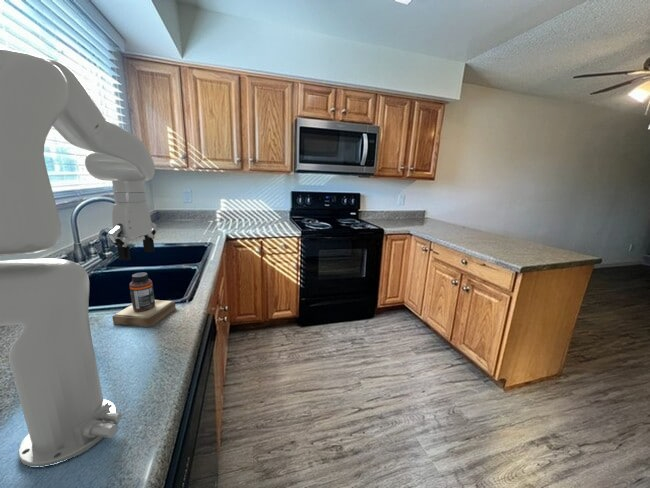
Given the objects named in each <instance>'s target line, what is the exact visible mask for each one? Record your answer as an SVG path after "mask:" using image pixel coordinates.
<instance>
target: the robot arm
mask: <svg viewBox="0 0 650 488" xmlns="http://www.w3.org/2000/svg"><path fill="white" fill-rule="evenodd" d="M52 127H53V129H55V130H56V131H57V133H58V134H60V135H61V137H62V138H64V140H66V141H67V143H69V144H71V145H72V146H75V147H77V148H80V149H81V150H82V149H83V150H86V151H89V153H88V154H87V155H86V156H85V159H84V164H85V168H86V170H87V172H88V174H89V175H91V176H92V177H93V178H95V179H98V180H102V181H108V182H109V181H110V182H111V183H112V189H113V197H114V204H112V209H111V210H112V213H111V218H112V219H111V223H112V229H111V230H110V231H109V232H108V233H107V237H109V239H110V241H111V243H112V244H113V245H114V246H115V248H117V253H118V260H119V261H131V260H132V258H131V249H130V246H128V245H129V242H130V240H133V239H138V238H141V237H143V239H142V244H143V245H142V247H143V251H144V252H145V253H154V252H155V251H156V250H155V244H154V239H155V235H156V233H157V230H156V229H157V224H156V223H154V222H152V219H151V218H152V217H151V213H150V209H149V205H148V203H147V195H146V187H145V182H147V181H150V180H152V179H153V178H154V175H155V172H156V170H155V169H156V167H155V163H154V160H153V158H152V155H151V153H150V152H149V150H148V148H147V146H146V144H145V143H144V142H143V141H142V140H141V139H140V138H139V137H138V136H136V135H134V134H133V133H131V132H130V131H128V130H126V129H124V128H123V127H121V126H119V125H117V124H115V123H113V122H111V121H109V120H107V119H106V118H105V116H104V114H103V113H102V112H101V109H100V108H99V107H98V106H97V104H96V103H95V101H94V100H93V98H92V97H91V95H90V94H89V92H88V91H87V89H86V87H85V86H84V85H83V84H82V82H81V80H80V79H79V77H78V76H77V74H75V73H74V72H73V70H72V69H70V67H68V66H67V65H66V64H64V63H62V62H60V61H58V60H55V59H54V58H53V59H52V58H49V57H45V56H38V55H34V54H31V53H28V52H23V51H18V50H12V49H6V48H0V256H13V255H14V256H16V255H29V254H36V253H37V254H38V253H40V252H45V251H48V250H50V249H52V248H54V247H55V246H57V244H58V243H59V242H60V240H61V235H62V224H61V219H60V216H59V215H60V214H59V210H58V207H57V204H56V199H55V196H54V192H53V189H52V184H51V181H50V178H49V177H50V176H49V173H48V169H47V165H46V160H45V159H46V158H45V143H46V141H47V137H48V136H49V133H50V131H51V128H52ZM89 300H90V279H89V273H88V271H86V269H85V268H84V267H83V266H82V265H80V263H77V262H75V261H73V260H68V259H63V258H54V257H53V258H50V257H49V258H47V257H46V258H24V259H22V258H21V259H8V260H7V259H6V260H0V326H12V325H13V326H14V325H15V326H17V325H18V326H22V331H21V333H20V334H19V336H17V338H16V340H14V341H13V343H12V345H11V346H10V349H9V352H8V363H9V366H10V370H11V373H12V376H13V379H14V380H13V381H14V383H15V384H14V385H15V388H16V391H17V395H18V399H19V403H20V405H21V406H20V407H21V409H22V414H23V417H24V420H25V423H26V427H27V428H26V429H27V430H28V433H27V434H26V436H25V437H24V438H23V439H22V441H21V443H20V445H19V446H18V447H19V448H18V451H17V452H18V453H17V454H18V459H19V460H21V461H20V462H22V463H23V465H24V464H25V465H27V466H26V467H28V466H39V467H40V466H45V465H50V464H54V463H57V462H60V461H64V460H66V459H70V458H72V457H74V458H76V457H77V455H78V456H80V455H81V454H83V453H85V452H86V451H88V450H90V449H91V448H92V447H94V446H96V445H97V444H98V443H99V442H100V441H101V440H102V439H103V438H105V439H111V438H113V437H114V436H115V435H116V433H117V431H118V430H119V428H118V427H119V426H118V424H115V423H118V422H120V421H121V419H122V416H123V414H122V412H118V411H117V408H116V405H115V404H114V403H113V402H112V401H111V400H107V399H104V396H103V392H102V391H103V389H102V385H101V380H100V376H99V370H98V363H97V359H96V353H95V348H94V343H93V337H92V332H91V326H90V325H91V324H90V318H89V317H90V315H89V307H88V306H89V305H88V302H89ZM75 456H76V457H75ZM72 459H73V458H72ZM70 460H71V459H70ZM22 463H21V464H22ZM25 465H24V466H25Z"/></svg>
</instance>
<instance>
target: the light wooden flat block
mask: <svg viewBox="0 0 650 488" xmlns="http://www.w3.org/2000/svg"><path fill="white" fill-rule="evenodd" d="M174 309H175V310H176V309H177V308H176V301H173V300H162V299H161V300H160V299H155V306H154V307H153V308H152V309H150V310H147V311H141V312H138V311H134V310H133V306H132V304H130V305H128V306H127V307H125V308H124V309H122V310H120V311H118V312H117V313H115V314H113V315H112V324H113V325H120V324H123V325H122V326H132V327H134V326H135V327H147V328H151V327H153V326H154V325H156V324H157V323H158V322H160V321H161V320H162V319H164V318H165V317H166V316H169V314H170V312H171V313H172V312H174V311H175V310H174Z"/></svg>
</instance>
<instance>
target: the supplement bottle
mask: <svg viewBox="0 0 650 488" xmlns="http://www.w3.org/2000/svg"><path fill="white" fill-rule="evenodd" d="M128 286H129V292H130V299H131V305H132V306H133V310H134V311H138V312H141V311H147V310H150V309H152V308H153V307H154V306H155V300H156V299H155V294H154V293H155V292H154V285H153V281H152V280H151V279H150V278H149V274H148V273H147V272H136V273H133V274H132V275H131V282H129V285H128Z"/></svg>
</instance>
